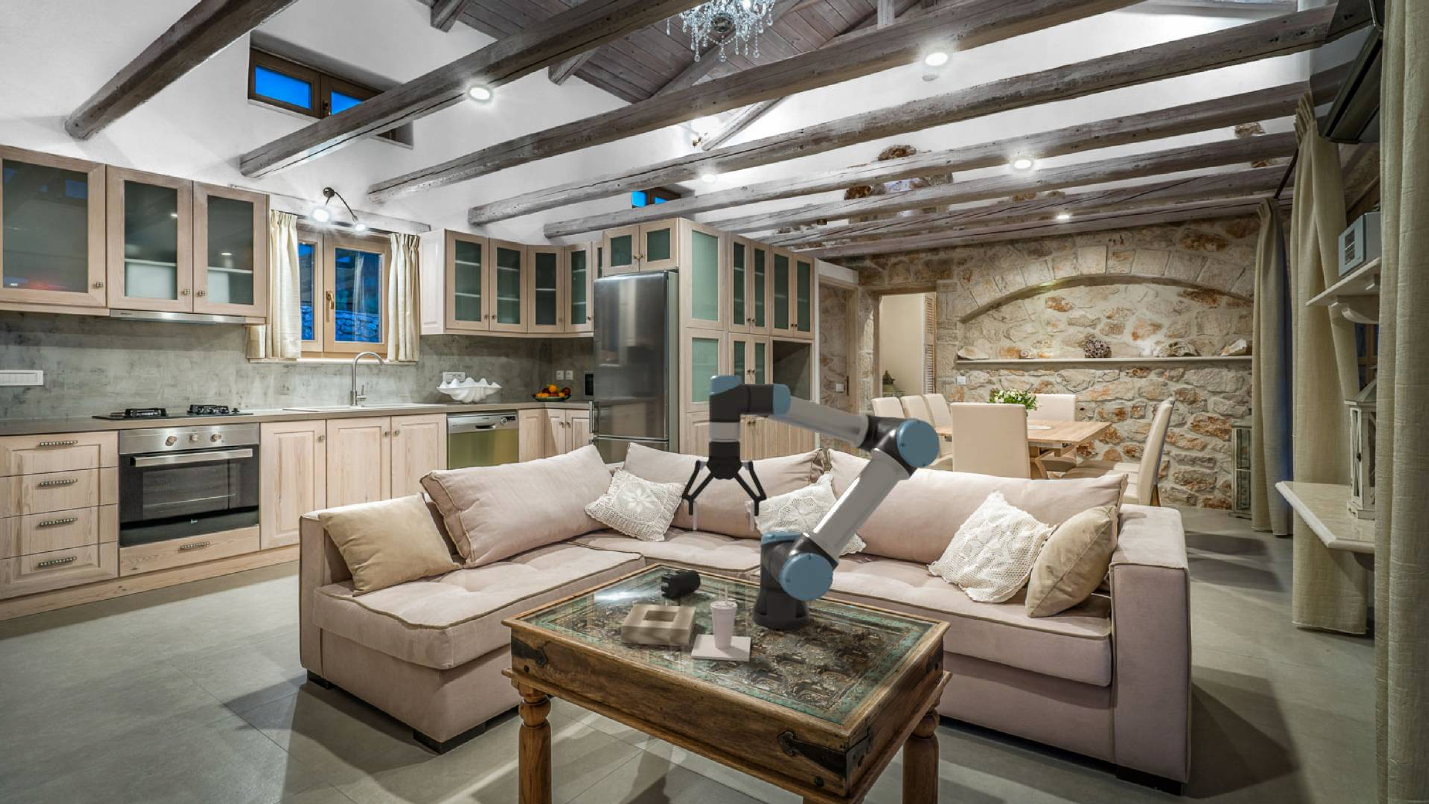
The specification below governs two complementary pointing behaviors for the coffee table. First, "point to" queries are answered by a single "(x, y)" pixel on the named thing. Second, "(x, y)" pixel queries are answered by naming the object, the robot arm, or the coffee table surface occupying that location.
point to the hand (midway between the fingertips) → (723, 529)
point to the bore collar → (659, 625)
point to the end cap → (680, 583)
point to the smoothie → (723, 621)
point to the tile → (707, 649)
